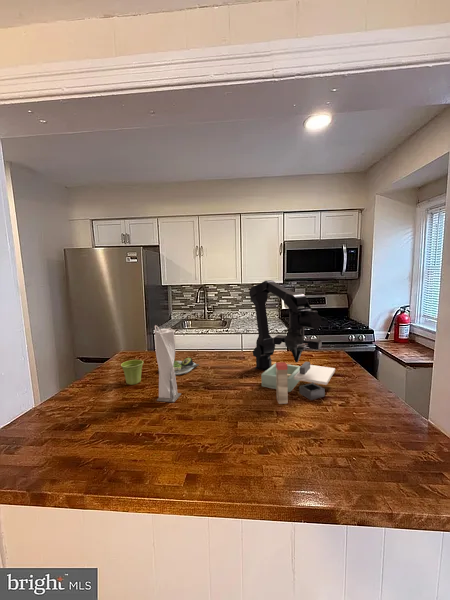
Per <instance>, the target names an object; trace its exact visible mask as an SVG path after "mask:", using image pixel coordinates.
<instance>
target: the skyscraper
mask: <svg viewBox="0 0 450 600" xmlns="http://www.w3.org/2000/svg"><path fill="white" fill-rule="evenodd" d="M154 331H155V333H154V334H155V335H154V337H155V338H154V339H155V345H154V349H155V356H156V362H157V365H158V369H159V371H158V398H157V399H156V401H157V402H166V403H175V402H176V401H177V400H178V399H179V398H180V397H181V396H182V393H181V392H178V385H177V379H176V375H175V372H174V368H173V365H174V361H175V357H176V340H175V339H176V337H175V331H174V329H172V328H171V327H168V328H160V327H159V326H158V325H156V324H155V325H154Z"/></svg>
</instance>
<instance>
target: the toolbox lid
mask: <svg viewBox="0 0 450 600" xmlns="http://www.w3.org/2000/svg"><path fill="white" fill-rule="evenodd" d="M300 366H301V367H300V371H299V372H298V373H297V374H296V375H295V376H294V379H295V380H300V382H301V381H302V382H307V383H314V384H317V385H325V386H328V384H329V382H330V380H331V379H332V377H333V375H334V374H335V372H336V368H335V367H329V366H328V367H327V366H323V365H322V366H320V365H314V364H311V361H304V362H303V363H302V365H300Z"/></svg>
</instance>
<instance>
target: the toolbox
mask: <svg viewBox="0 0 450 600" xmlns="http://www.w3.org/2000/svg"><path fill="white" fill-rule="evenodd" d="M276 363H277V362H274V364H272V366H271V367H270V368H269V369H267V370H264V371H263V372H262V373H261V375H260V376H261V378H260V379H261V387H264V388H269V389H275V390H276ZM286 364H287V363H286ZM301 366H302V365H293V364H287V369H288V370H287V382H288V393H290V392H292V391H293V389H294V388H295V387H296V386H297V385H298V384H299V383H300V382H301V380H295V379H294V376H295V375H296V374H297V373H298V372H299V371H300V367H301Z"/></svg>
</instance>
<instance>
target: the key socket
mask: <svg viewBox="0 0 450 600" xmlns="http://www.w3.org/2000/svg"><path fill="white" fill-rule="evenodd" d="M298 387H299V390H298V392H299V394H300V395H301V396H303V397H305V398H307V399H308V400H310V401H314V400H317V399H320V398H324V397H325V396H326V395H325V394H326V392H325V389H326V388H324V387H322V386H320V385H319V384H317V383H312V382H308V383H306V384H302V385H299V386H298Z"/></svg>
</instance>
